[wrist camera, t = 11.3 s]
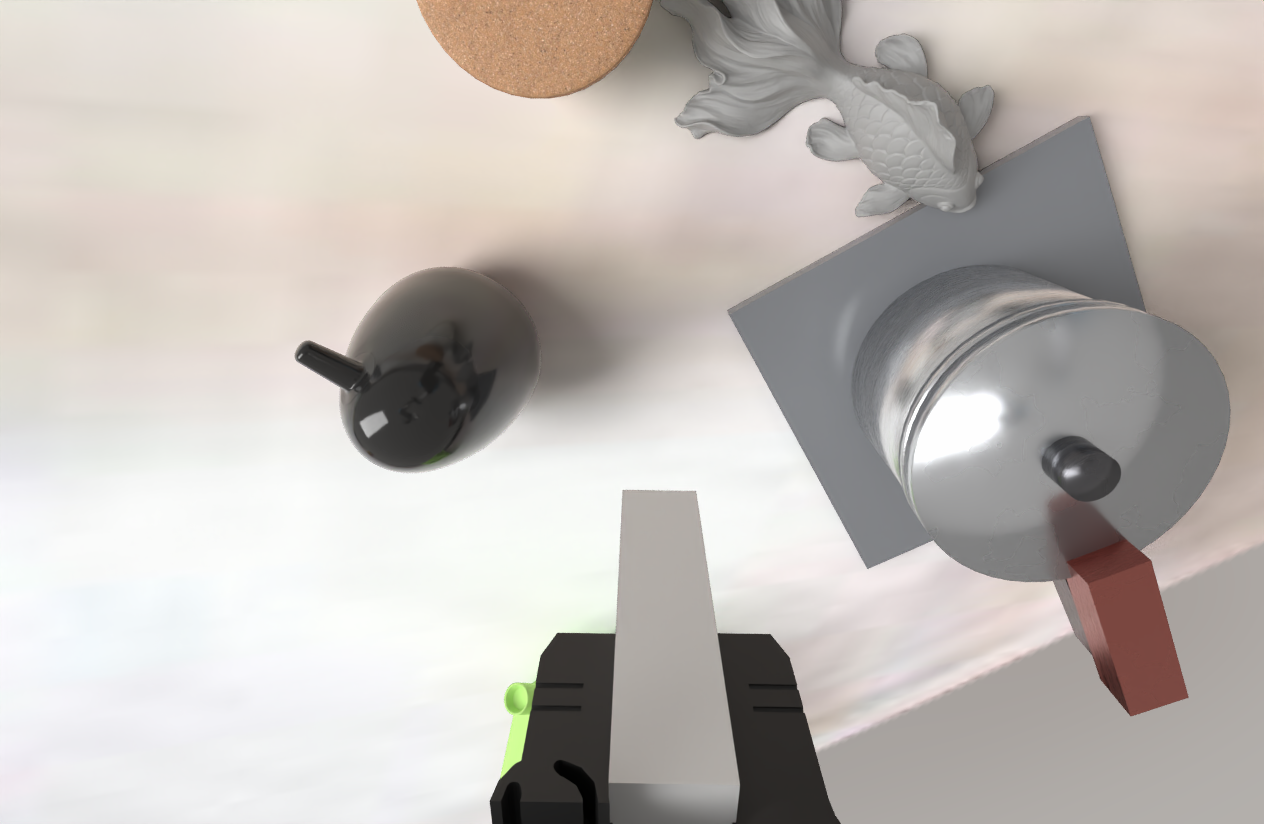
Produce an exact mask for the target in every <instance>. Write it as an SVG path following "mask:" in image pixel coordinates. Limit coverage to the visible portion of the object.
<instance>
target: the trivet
mask: <svg viewBox="0 0 1264 824" xmlns="http://www.w3.org/2000/svg"><path fill="white" fill-rule="evenodd" d="M979 173H980V174H981V175H982V176H983V178H984V180H983V182H982V184H981V185H979V187H978V188H977V189H976V204H975V206H974V207H973V208H972V209H970V210H968V211H966V212H963V213H953V212H944V211H942V210H940V209H937V208H933V207H930V206H927V205H925V204H923V203H921V204H919V205H917V206H915V207H914V208H912V209H910V210H908V211H906V212H905V213H903V214H901V215H899V216H897V217H896V218H894V219H892V220H890V221H888V222H886V223H885V224H883V225H881V226H879V227H877V228H876V229H874V230H872V231H870V232H868V233H867V234H865V235H863V236H861V237H859V238H858V239H856V240H854V241H852V242H850V243H848V244H847V245H845V246H843V247H841V248H839V249H838V250H836V251H834V252H832V253H830V254H829V255H827V256H825V257H823V258H821V259H820V260H818V261H816V262H814V263H812V264H810V265H809V266H807V267H805V268H803V269H801V270H800V271H798V272H796V273H794V274H792V275H791V276H789V277H787V278H785V279H783V280H781V281H780V282H778V283H776V284H774V285H772V286H771V287H769V288H767V289H765V290H763V291H762V292H760V293H758V294H756V295H754V296H753V297H751V298H749V299H747V300H745V301H743V302H742V303H740V304H738V305H736V306H734V307H733V308H731V309H729V310H727V311H728V313H729V315H730V317H731V319H732V321H733V322H734V324H735V326H736V328H737V330H738V332H739V334H740V335H741V337H742V339H743V341H744V343H745V345H746V346H747V348H748V350H749V352H750V354H751V356H752V357H753V359H754V361H755V363H756V365H757V367H758V368H759V370H760V372H761V374H762V376H763V378H764V380H765V381H766V383H767V385H768V387H769V389H770V391H771V392H772V394H773V396H774V398H775V400H776V402H777V403H778V405H779V407H780V409H781V411H782V413H783V414H784V416H785V418H786V420H787V422H788V424H789V425H790V427H791V429H792V431H793V433H794V435H795V437H796V438H797V440H798V442H799V444H800V446H801V448H802V449H803V451H804V453H805V455H806V457H807V459H808V460H809V462H810V464H811V466H812V468H813V470H814V471H815V473H816V475H817V477H818V479H819V481H820V483H821V484H822V486H823V488H824V490H825V492H826V494H827V495H828V497H829V499H830V501H831V503H832V505H833V506H834V508H835V510H836V512H837V514H838V516H839V517H840V519H841V521H842V523H843V525H844V527H845V529H846V530H847V532H848V534H849V536H850V538H851V540H852V541H853V543H854V545H855V547H856V549H857V551H858V552H859V554H860V556H861V558H862V560H863V562H864V563H865V565H866V567H867V569H869V568H871V567H873V566H876V565H878V564H880V563H882V562H885V561H887V560H889V559H891V558H894V557H896V556H898V555H901V554H903V553H905V552H907V551H910V550H912V549H914V548H917V547H919V546H921V545H923V544H926V543H928V542H930V541H933V539H932V537H931V536H930V535H929V533H928V532H927V531H926V529H925V528H924V526H923V525H922V524H921V522H920V521H919V519H918V518H917V516H916V515H915V513H914V512H913V510H912V508H911V507H910V505H909V503H908V501H907V499H906V496H905V494H904V491H903V489H902V485H901V484H900V483H899V481H898V480H897V478H896V477H895V476H894V474H893V473H892V471H891V470H890V469H889V467H888V466H887V464H886V463H885V462H884V460H883V459H882V457H881V456H880V455H879V453H878V452H877V450H876V449H875V448H874V446H873V445H872V443H871V442H870V441H869V439H868V438H867V436H866V435H865V433H864V431H863V430H862V428H861V426H860V425H859V422H858V420H857V417H856V415H855V411H854V407H853V402H852V392H851V385H852V374H853V369H854V364H855V360H856V357H857V354H858V351H859V348H860V346H861V344H862V342H863V340H864V338H865V336H866V334H867V333H868V331H869V330H870V328H871V327H872V325H873V324H874V322H875V321H876V320H877V319H878V317H879V316H880V315H881V314H882V313H883V311H884V310H885V309H886V308H887V307H888V306H889V305H890V304H891V303H892V302H894V301H895V300H896V299H897V298H898V297H899V296H901V295H902V294H903V293H905V292H906V291H907V290H909V289H910V288H912V287H914V286H915V285H917V284H919V283H920V282H922V281H924V280H926V279H928V278H930V277H932V276H935V275H937V274H939V273H942V272H946V271H949V270H952V269H956V268H961V267H966V266H974V265H998V266H1005V267H1010V268H1015V269H1017V270H1020V271H1023V272H1026V273H1029V274H1031V275H1034V276H1036V277H1039V278H1041V279H1044V280H1046V281H1049V282H1051V283H1054V284H1056V285H1059V286H1061V287H1064V288H1066V289H1069V290H1071V291H1074V292H1076V293H1079V294H1082V295H1084V296H1087V297H1089V298H1092V299H1098V300H1106V301H1111V302H1116V303H1121V304H1124V305H1127V306H1130V307H1133V308H1135V309H1138V310H1141V311H1144V312H1146V310H1145V306H1144V303H1143V300H1142V296H1141V293H1140V289H1139V286H1138V282H1137V279H1136V275H1135V272H1134V269H1133V265H1132V262H1131V258H1130V255H1129V251H1128V248H1127V244H1126V241H1125V238H1124V234H1123V231H1122V227H1121V224H1120V220H1119V217H1118V213H1117V210H1116V207H1115V203H1114V200H1113V196H1112V193H1111V189H1110V186H1109V182H1108V179H1107V176H1106V172H1105V169H1104V165H1103V162H1102V158H1101V155H1100V151H1099V148H1098V145H1097V141H1096V138H1095V134H1094V131H1093V127H1092V124H1091V120H1090V117H1089V116H1084V117H1077V118H1075V119H1073V120H1071V121H1069V122H1068V123H1066V124H1064V125H1062V126H1060V127H1058V128H1057V129H1055V130H1053V131H1051V132H1049V133H1048V134H1046V135H1044V136H1042V137H1040V138H1039V139H1037V140H1035V141H1033V142H1031V143H1030V144H1028V145H1026V146H1024V147H1022V148H1020V149H1019V150H1017V151H1015V152H1013V153H1011V154H1010V155H1008V156H1006V157H1004V158H1002V159H1001V160H999V161H997V162H995V163H993V164H991V165H990V166H988V167H986V168H984V169H982V170H981V171H979Z"/></svg>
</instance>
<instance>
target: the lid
mask: <svg viewBox="0 0 1264 824" xmlns="http://www.w3.org/2000/svg"><path fill="white" fill-rule="evenodd" d="M1229 425H1230V402H1229V392H1228V389H1227V386H1226V382H1225V379H1224V375H1223V373H1222V372H1221V370H1220V368H1219V366H1218V364H1217V362H1216V360H1215V359H1214V357H1213V356H1212V355H1211V353H1210V352H1209V351H1208V349H1207V348H1206V347H1205V346H1204V345H1203V344H1202V343H1201V342H1200V341H1199V340H1198V339H1196V338H1195V337H1194V336H1193V335H1192V334H1190V333H1189V332H1187V331H1186V330H1184V329H1182V328H1181V327H1179V326H1178V325H1176V324H1174V323H1171V322H1169V321H1166V320H1164V319H1162V318H1159V317H1157V316H1154V315H1151V314H1149V313H1146V312H1144V311H1141V310H1138V309H1134V308H1130V307H1126V306H1122V305H1114V304H1104V303H1083V304H1072V305H1066V306H1059V307H1054V308H1050V309H1047V310H1043V311H1039V312H1036V313H1033V314H1030V315H1028V316H1025V317H1023V318H1020V319H1018V320H1015V321H1013V322H1011V323H1009V324H1007V325H1005V326H1003V327H1001V328H999V329H997V330H995V331H994V332H992V333H990V334H989V335H987V336H986V337H984V338H983V339H981V340H980V341H978V342H977V343H975V344H974V345H973V346H972V347H970V348H969V349H968V350H967V351H966V352H964V353H963V354H962V355H961V356H960V357H958V358H957V359H956V360H955V361H954V362H953V363H952V364H951V365H950V366H949V368H948V369H947V370H946V371H945V372H944V373H943V374H942V375H941V376H940V378H939V379H938V380H937V381H936V383H935V384H934V385H933V387H932V388H931V389H930V391H929V392H928V394H927V396H926V397H925V399H924V401H923V402H922V404H921V406H920V407H919V409H918V412H917V414H916V416H915V418H914V421H913V423H912V425H911V429H910V432H909V436H908V439H907V443H906V450H905V456H904V478H905V484H906V490H907V494H908V497H909V500H910V503H911V506H912V508H913V510H914V512H915V513H916V515H917V517H918V519H919V521H920V522H921V524H922V525H923V526H924V528H925V529H926V531H927V532H928V533H929V535H930V536H931V537H932V539H933V540H934V541H935V543H936V544H937V545H938V546H939V547H940V548H941V549H942V550H943V551H944V552H945V553H946V554H947V555H949V556H950V557H951V558H953V559H954V560H956V561H957V562H959V563H960V564H962V565H964V566H966V567H968V568H970V569H972V570H974V571H976V572H979V573H982V574H985V575H988V576H990V577H995V578H999V579H1004V580H1010V581H1021V582H1046V581H1054V580H1063V579H1067V582H1068V585H1069V588H1070V591H1071V594H1072V597H1073V600H1074V603H1075V606H1076V609H1077V612H1078V615H1079V617H1080V620H1081V623H1082V626H1083V629H1084V632H1085V635H1086V638H1087V641H1088V644H1089V647H1090V650H1091V653H1092V656H1093V659H1094V662H1095V665H1096V668H1097V671H1098V674H1099V676H1100V679H1101V681H1102V682H1103V683H1104V684H1105V686H1106V687H1107V688H1108V689H1109V691H1110V692H1111V693H1112V694H1113V695H1114V697H1115V698H1116V699H1117V700H1118V702H1119V703H1120V704H1121V705H1122V706H1123V708H1124V709H1125V710H1126V711H1127V713H1128V714H1129V715H1130V716H1134V715H1137V714H1140V713H1143V712H1146V711H1149V710H1152V709H1155V708H1158V707H1161V706H1164V705H1167V704H1170V703H1173V702H1176V701H1179V700H1182V699H1185V698H1188V694H1187V690H1186V687H1185V683H1184V679H1183V676H1182V672H1181V668H1180V665H1179V661H1178V658H1177V654H1176V650H1175V646H1174V643H1173V639H1172V635H1171V632H1170V628H1169V624H1168V621H1167V617H1166V613H1165V610H1164V606H1163V602H1162V599H1161V595H1160V591H1159V588H1158V584H1157V580H1156V577H1155V573H1154V569H1153V566H1152V562H1151V560H1150V559H1149V558H1148V557H1146V556H1145V555H1144V554H1143V553H1142V552H1141V551H1140V550H1141V549H1143V548H1144V547H1146V546H1147V545H1149V544H1150V543H1152V542H1153V541H1155V540H1156V539H1158V538H1159V537H1160V536H1161V535H1163V534H1164V533H1165V532H1166V531H1168V530H1169V529H1170V528H1171V527H1172V526H1173V525H1174V524H1175V523H1176V522H1177V521H1178V520H1180V519H1181V518H1182V517H1183V516H1184V515H1185V514H1186V513H1187V511H1188V510H1189V509H1190V508H1191V507H1192V505H1193V504H1194V503H1195V502H1196V501H1197V499H1198V498H1199V497H1200V495H1201V494H1202V492H1203V491H1204V489H1205V488H1206V486H1207V485H1208V483H1209V482H1210V480H1211V478H1212V476H1213V475H1214V473H1215V471H1216V469H1217V467H1218V465H1219V462H1220V460H1221V457H1222V454H1223V451H1224V449H1225V446H1226V441H1227V436H1228V432H1229Z"/></svg>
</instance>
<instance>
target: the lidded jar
mask: <svg viewBox="0 0 1264 824" xmlns="http://www.w3.org/2000/svg"><path fill="white" fill-rule="evenodd" d="M652 2H653V0H417V3H418V6H419V8H420V11H421V13H422V16H423V17H424V19H425V21H426V23H427V25H428V27H429V28H430V30H431V32H432V34H433V35H434V37H435V38H436V39H437V41H438V42H439V43H440V45H441V46H442V48H443V49H444V50H445V52H446V53H447V54H448V55H449V56H450V57H451V58H452V59H453V60H454V61H455V62H456V63H457V64H458V65H459V66H460V67H461V68H463V69H464V70H465V71H467V72H468V73H469V74H470V75H472V76H473V77H474V78H476V79H477V80H479V81H481V82H483V83H485V84H486V85H488V86H490V87H492V88H494V89H497V90H500V91H502V92H505V93H508V94H511V95H515V96H521V97H526V98H555V97H561V96H566V95H570V94H573V93H575V92H578V91H581V90H584V89H586V88H587V87H589V86H591V85H593V84H594V83H596V82H598V81H600V80H601V79H602V78H604V77H605V76H606V75H607V74H609V73H610V72H611V71H612V70H613V69H615V68H616V67H617V66H618V64H619V63H620V62H621V61H622V60H623V59H624V58H625V56H626V55H627V54H628V53H629V52H630V50H631V48H632V47H633V45H634V44H635V42H636V41H637V39H638V38H639V36H640V34H641V32H642V29H643V27H644V25H645V23H646V20H647V18H648V16H649V12H650V9H651V5H652Z"/></svg>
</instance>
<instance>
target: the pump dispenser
mask: <svg viewBox="0 0 1264 824" xmlns="http://www.w3.org/2000/svg"><path fill="white" fill-rule="evenodd" d="M295 360H296V361H297V362H298V363H300V364H302V365H303V366H305V367H307V368H308V369H310V370H312V371H313V372H315V373H317V374H318V375H320V376H322V377H323V378H325V379H327V380H329V381H330V382H332V383H334V384H335V385H337V386H339V387H340V391H339V406H340V414H341V419H342V423H343V426H344V429H345V431H346V433H347V435H348V437H349V439H350V441H351V442H352V444H353V445H354V447H355V448H356V449H357V450H358V452H359V453H360V454H361V455H363V456H364V457H365V458H366V459H367V460H369V461H370V462H372V463H373V464H375V465H377V466H379V467H382V468H384V469H387V470H390V471H395V472H401V473H423V472H429V471H433V470H437V469H441V468H444V467H447V466H450V465H452V464H455V463H457V462H460V461H462V460H464V459H466V458H468V457H470V456H472V455H474V454H476V453H477V452H479V451H481V450H482V449H484V448H485V447H487V446H488V445H489V444H491V443H492V442H493V441H495V440H496V439H497V438H498V437H499V436H500V435H501V434H502V433H504V432H505V431H506V429H507V428H508V427H509V426H510V425H511V424H512V423H513V422H514V421H515V419H516V418H517V417H518V416H519V415H520V413H521V412H522V411H523V409H524V408H525V406H526V405H527V403H528V402H529V400H530V398H531V396H532V394H533V392H534V390H535V387H536V384H537V382H538V378H539V374H540V369H541V346H540V341H539V337H538V333H537V330H536V328H535V325H534V323H533V321H532V319H531V317H530V315H529V313H528V312H527V310H526V309H525V307H524V306H523V305H522V303H521V302H520V301H519V300H518V299H517V298H516V297H515V296H514V295H513V294H512V293H511V292H510V291H509V290H508V289H506V288H505V287H504V286H503V285H501V284H500V283H498V282H497V281H495V280H493V279H491V278H489V277H487V276H485V275H483V274H481V273H478V272H475V271H472V270H468V269H463V268H457V267H436V268H429V269H425V270H421V271H418V272H415V273H413V274H411V275H409V276H407V277H405V278H403V279H401V280H400V281H398V282H397V283H395V284H394V285H392V286H391V287H390V288H389V289H388V290H386V291H385V292H384V293H383V294H382V295H381V296H380V297H379V298H378V299H377V301H376V302H375V303H374V304H373V306H372V307H371V308H370V309H369V311H368V312H367V313H366V315H365V316H364V318H363V319H362V321H361V322H360V324H359V326H358V327H357V329H356V331H355V333H354V335H353V337H352V339H351V342H350V344H349V347H348V349H347V352H346V356H344V355H342V354H339V353H337V352H335V351H333V350H330V349H328V348H326V347H324V346H321V345H319V344H317V343H315V342H312V341H309V340H308V341H304V342H302V343H301V344H300V345H299V347H298V348H297V350H296V352H295Z"/></svg>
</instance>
